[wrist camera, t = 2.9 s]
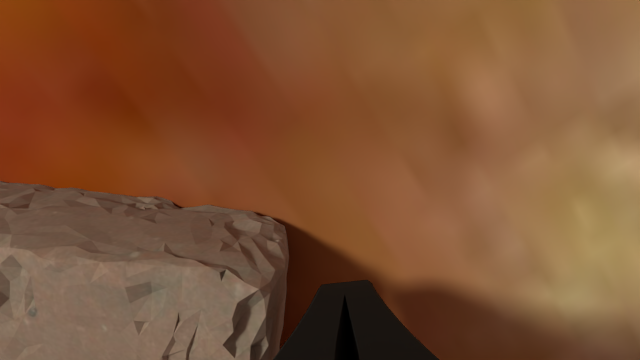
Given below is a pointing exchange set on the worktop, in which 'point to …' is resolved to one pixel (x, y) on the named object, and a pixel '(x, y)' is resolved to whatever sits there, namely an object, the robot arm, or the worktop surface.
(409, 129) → the worktop surface
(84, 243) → the brick
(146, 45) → the worktop surface
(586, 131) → the worktop surface
